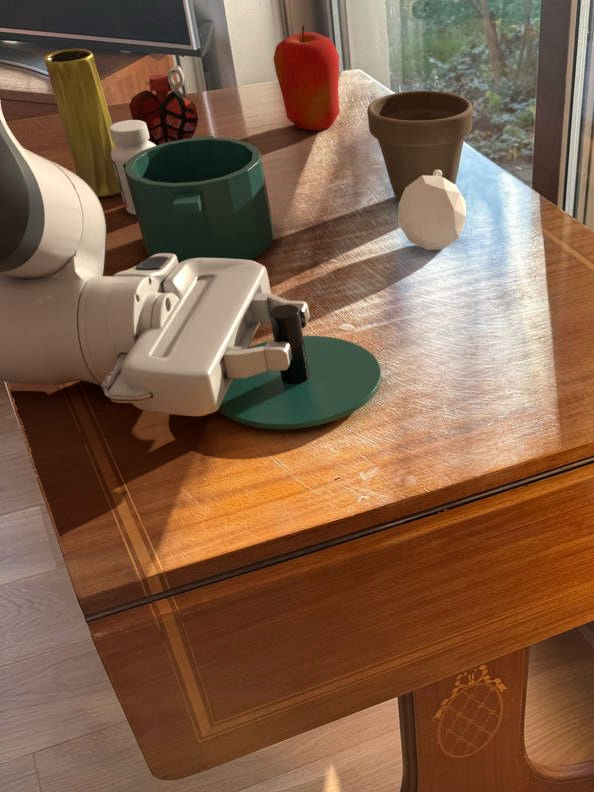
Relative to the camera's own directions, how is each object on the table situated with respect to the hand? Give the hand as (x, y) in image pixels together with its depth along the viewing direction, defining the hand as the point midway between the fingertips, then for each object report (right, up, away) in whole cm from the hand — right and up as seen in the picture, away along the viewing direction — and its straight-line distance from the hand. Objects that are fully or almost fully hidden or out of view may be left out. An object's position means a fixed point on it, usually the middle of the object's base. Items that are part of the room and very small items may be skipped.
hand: (298, 334), depth 81 cm
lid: (-1, -3, +3) cm, 4 cm away
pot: (-14, +18, +25) cm, 34 cm away
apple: (-7, +44, +52) cm, 68 cm away
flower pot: (+9, +26, +33) cm, 43 cm away
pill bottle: (-23, +25, +33) cm, 47 cm away
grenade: (-24, +37, +45) cm, 63 cm away
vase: (-30, +29, +37) cm, 56 cm away
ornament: (+10, +17, +24) cm, 31 cm away
